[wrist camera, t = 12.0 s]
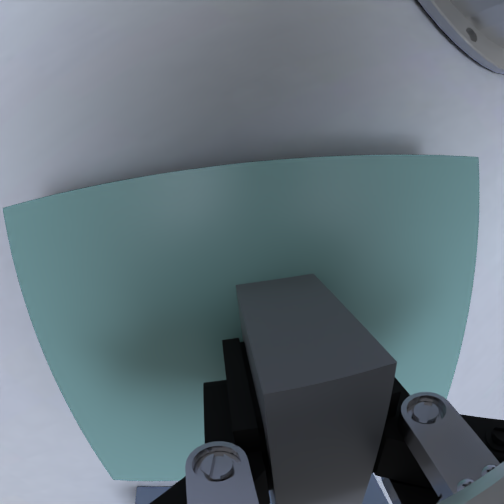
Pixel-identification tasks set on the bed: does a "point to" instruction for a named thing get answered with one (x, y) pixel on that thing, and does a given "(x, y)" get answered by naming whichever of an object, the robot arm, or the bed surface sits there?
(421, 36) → the bed surface
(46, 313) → the lid
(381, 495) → the box
